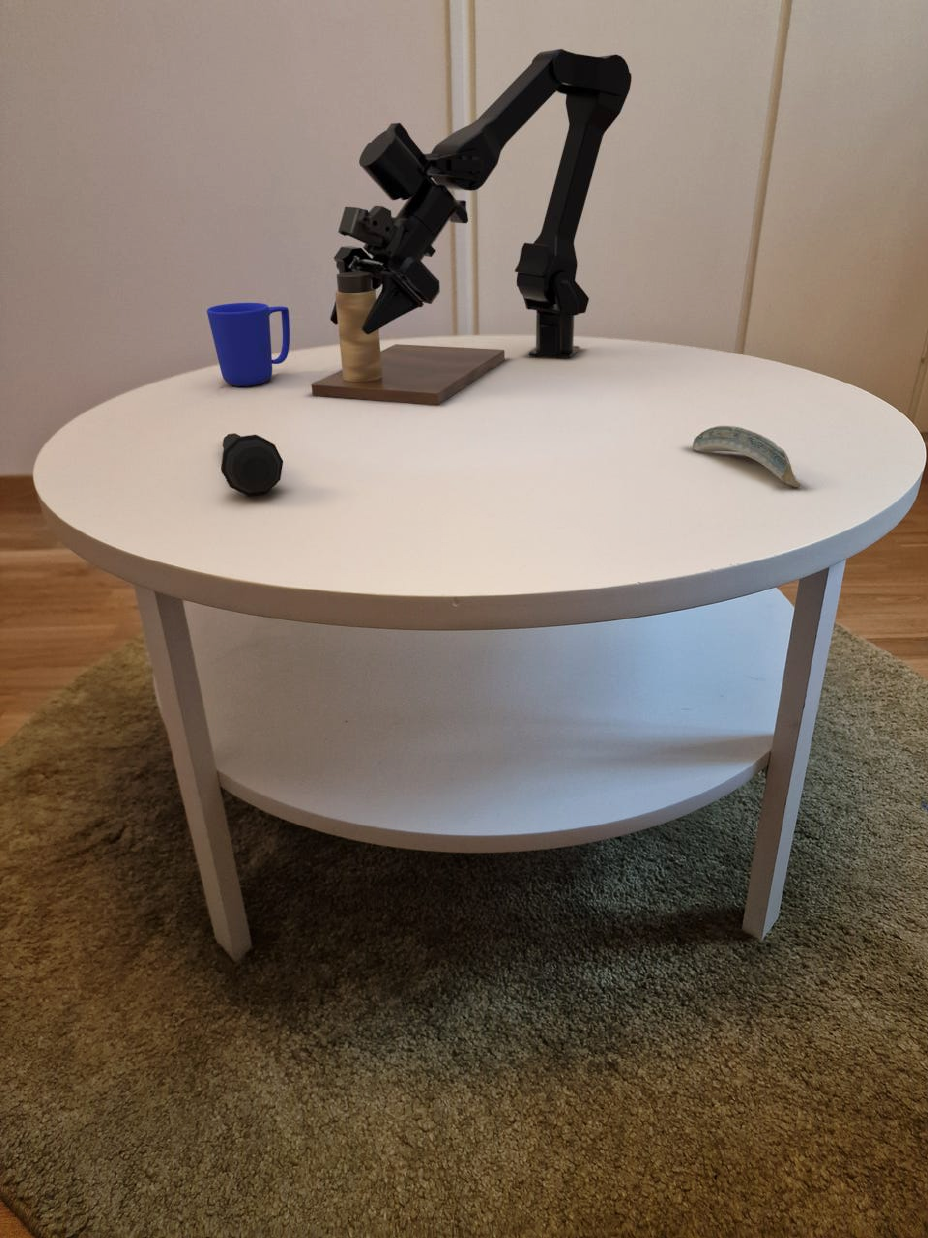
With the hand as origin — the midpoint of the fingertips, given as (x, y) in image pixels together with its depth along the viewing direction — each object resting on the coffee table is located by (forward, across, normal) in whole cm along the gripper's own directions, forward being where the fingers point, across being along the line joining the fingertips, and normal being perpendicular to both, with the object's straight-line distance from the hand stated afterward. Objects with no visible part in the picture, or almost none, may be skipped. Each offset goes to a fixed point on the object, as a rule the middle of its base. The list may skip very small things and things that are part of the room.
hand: (348, 326), depth 110 cm
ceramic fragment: (-5, +52, +17) cm, 55 cm away
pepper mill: (+4, 0, +6) cm, 7 cm away
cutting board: (-2, -1, +13) cm, 13 cm away
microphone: (+22, +22, -10) cm, 33 cm away
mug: (+11, -14, +1) cm, 18 cm away
